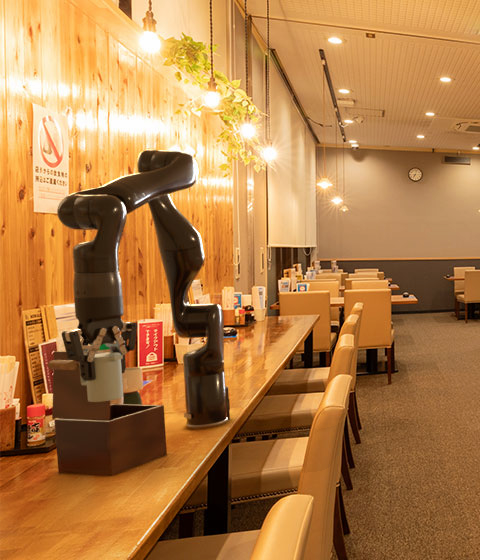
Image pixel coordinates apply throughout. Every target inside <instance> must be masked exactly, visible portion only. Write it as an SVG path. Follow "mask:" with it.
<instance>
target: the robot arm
mask: <svg viewBox="0 0 480 560" xmlns="http://www.w3.org/2000/svg"><path fill="white" fill-rule="evenodd" d="M136 164H137V173H131V174H128V175H124V176H121V177H117V178H116V179H114V180H111V181H109V182H107V183H105V184H104V185H102V186H98V187H94V188H89V189H85V190H80V191H77V192H73V193H71V194H69V195H66V196H65V197H64V198H63V199H62V200H61V201H60V202H59V204H58V205H57V210H56V212H57V213H56V215H57V219H58V220H59V222H60V223H61V224H62V225H63V226H65V227H66V228H68V229H70V230H74V231H96V233H95V236H94V238H93V239H92V240H89V241H85V242H84V241H83V242H80V243H77V244H75V245H73V248H72V262H73V283H72V287H73V302H74V315H75V318H76V319H77V320H78V324H77V327H76V328H74V329H72V330H64V331H62V332H61V339H62V341H63V346H64V349H65V351H66V353H67V357H68V360H74V361H78V362H79V363H80V375H81V378H83V380H85V381H91V380H95V364H94V362H92V361H93V360H94V357H95V354H96V351H98V350H99V348H100V345H103V344H105V345H106V346H107V347H109V349H110V351H111V352H117V353H120V354H121V355H123V359H121V369H122V373H124V372H125V369H126V368H127V361H126V355H127V354H128V353H129V352H132V351H135V349H136V341H137V340H136V339H137V330H138V329H137V328H138V324H137V322H132V321H131V322H130V321H127V322H126V321H125V322H124V321H123V320H122V316H124V315H125V311H124V310H125V309H124V295H123V283H122V278H121V273H120V261H119V250H120V245H121V241H122V236H123V232H124V230H125V227H126V222H127V215H129V214H130V213H133V212H134V211H136V210H137V209H139V208H141V207H142V206H145V205H146V204H147V205H148V207H149V211H150V214H151V219H152V221H153V227H154V231H155V235H156V241H157V247H158V251H159V255H160V259H161V263H162V267H163V271H164V276H165V277H166V283H167V284H166V285H167V289H168V293H169V294H168V296H169V302H170V311H171V318H172V324H173V329H174V332H175V334H176V335H177V336H178V337H179V338H181V339H204V338H205V339H206V342H205V344H204V345H202V346H200V347H198V348H195V349H193V350H190V351H187V352H186V353H184V354H183V356H182V362H183V363H182V364H183V366H182V367H183V382H184V383H183V384H184V397H185V398H184V399H185V400H184V401H185V412H184V413H183V417H184V418H185V419H186V428H187V429H190V430H191V429H192V430H202V429H208V428H214V427H218V426H222V425H224V424H226V423H228V421H230V420H231V414H230V410H231V404H230V403H231V402H230V397H229V395H230V394H229V387H228V386H226V375H225V373H226V372H225V355H224V354H225V343H224V341H225V340H224V339H225V338H224V333H225V332H224V327H225V325H224V324H225V321H224V320H225V318H224V317H225V316H224V312H223V309H222V307H221V305H220V304H219V303H190V301H189V291H190V289H191V286H192V284H193V283H194V281H195V279H196V278H197V276H198V274H199V273H200V271H201V269H202V268H203V265H204V263H205V260H206V259H205V258H206V257H205V256H206V255H205V251H204V246H203V241H202V237H201V233H200V232H199V231H198V229H196V227H195V226H194V225H193V224H192V223H191V222H190V220H188V219H187V217H186V216H185V215H184V214H183V213H181V211H180V210H179V209H178V207H177V206H176V205H175V203H174V202H173V200H172V197H171V196H170V195H171V194H173V193H177V192H179V191H183V190H188V189H190V188H192V187H193V186H194V185H195V184H196V183H197V180H198V178H199V167H198V163H197V161H196V159H195V157H193V156H192V155H191V154H189V153H187V152H184V151H178V150H162V149H145V150H142V151H141V152H140V153H139V155H138V158H137V163H136ZM90 345H91V346H90ZM87 352H88V353H87Z"/></svg>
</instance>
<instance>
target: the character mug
mask: <svg viewBox="0 0 480 560" xmlns="http://www.w3.org/2000/svg"><path fill="white" fill-rule="evenodd" d="M143 374H144V373H143V368H142V367H139V366H136V367H135V366H134V367H133V366H132V367H131V366H130V367H126V369H125V372H124V373H122V383H123V404H136V405H143V400H142V395H141V393H140V392H139V391H141V390H143V389H144V376H143Z"/></svg>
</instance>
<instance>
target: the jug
mask: <svg viewBox="0 0 480 560" xmlns="http://www.w3.org/2000/svg"><path fill="white" fill-rule="evenodd" d="M121 359H123V355H121V354H120V353H117V352H111V353H99V354H95V357H94V360H93V361H92V362H94V364H95V380H91V381H85V380H83V378H81V375H80V378H81V385H83V386H87V395H88V401H89V402H102V401H110V400H115V399H119V398H121V397H123V383H122V369H121ZM79 365H80V363H79Z"/></svg>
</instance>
